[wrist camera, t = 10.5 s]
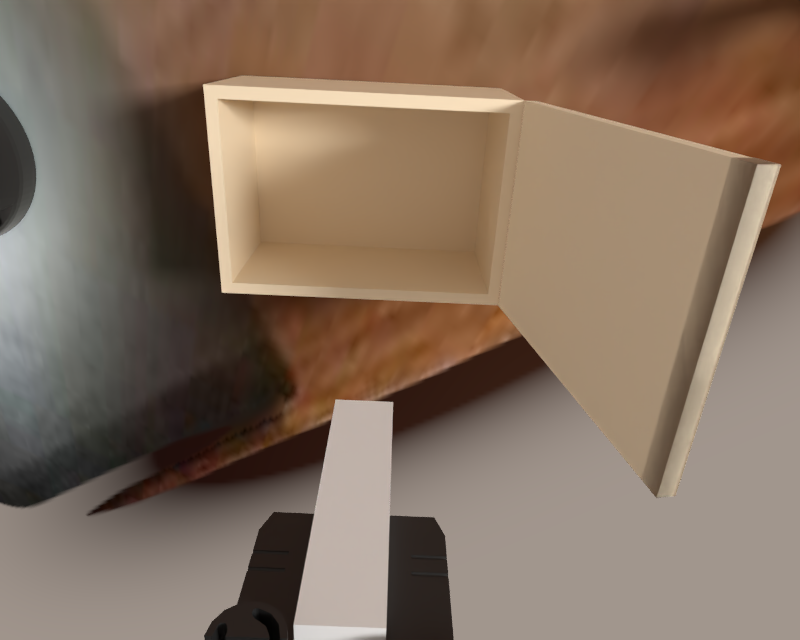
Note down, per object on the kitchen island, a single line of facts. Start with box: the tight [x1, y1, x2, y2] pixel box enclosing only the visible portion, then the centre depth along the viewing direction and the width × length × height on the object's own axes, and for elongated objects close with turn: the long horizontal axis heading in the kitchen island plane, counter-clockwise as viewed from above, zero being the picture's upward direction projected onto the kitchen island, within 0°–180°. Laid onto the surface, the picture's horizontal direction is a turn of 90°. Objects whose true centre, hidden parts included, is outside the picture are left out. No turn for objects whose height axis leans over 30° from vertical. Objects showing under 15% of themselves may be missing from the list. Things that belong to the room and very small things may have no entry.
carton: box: [203, 75, 525, 305], centre depth 44 cm, size 20×14×10 cm
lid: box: [498, 101, 781, 498], centre depth 31 cm, size 20×14×1 cm
